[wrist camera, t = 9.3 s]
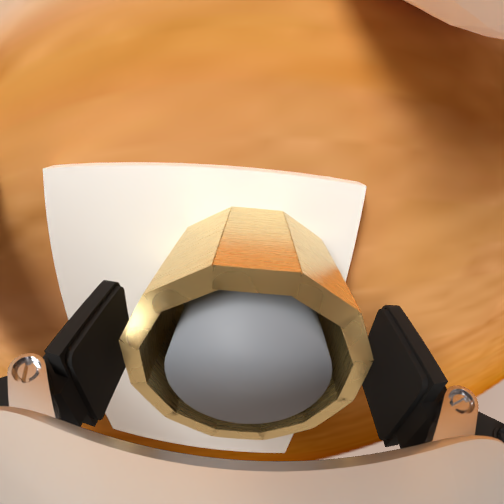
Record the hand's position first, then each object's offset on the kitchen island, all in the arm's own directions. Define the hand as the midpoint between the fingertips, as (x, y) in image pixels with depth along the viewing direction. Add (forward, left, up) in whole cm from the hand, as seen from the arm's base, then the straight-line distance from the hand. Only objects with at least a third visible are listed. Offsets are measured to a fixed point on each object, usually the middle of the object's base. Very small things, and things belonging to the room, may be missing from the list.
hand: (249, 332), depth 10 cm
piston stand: (+5, -3, -4) cm, 7 cm away
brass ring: (0, 0, -3) cm, 3 cm away
